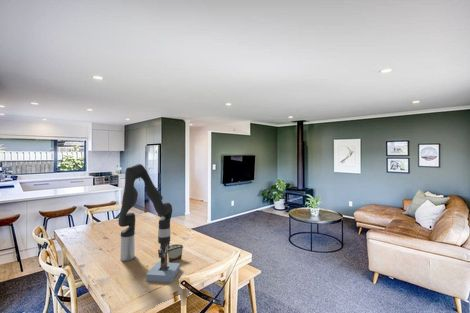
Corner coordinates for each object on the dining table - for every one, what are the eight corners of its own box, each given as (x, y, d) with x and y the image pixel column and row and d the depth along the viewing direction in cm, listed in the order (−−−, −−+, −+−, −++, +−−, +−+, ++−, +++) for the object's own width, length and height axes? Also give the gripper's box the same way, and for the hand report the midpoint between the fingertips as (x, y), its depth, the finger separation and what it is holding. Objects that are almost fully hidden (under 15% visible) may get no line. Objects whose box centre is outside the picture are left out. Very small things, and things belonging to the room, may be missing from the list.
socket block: (156, 267, 157) (157, 261, 157) (180, 269, 156) (180, 263, 156) (146, 280, 141) (146, 274, 141) (171, 282, 140) (171, 275, 140)
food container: (179, 255, 176) (179, 242, 175) (183, 258, 171) (183, 245, 171) (163, 260, 167) (163, 246, 167) (167, 263, 163) (167, 249, 163)
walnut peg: (162, 266, 150) (162, 247, 150) (168, 266, 150) (168, 248, 150) (159, 269, 146) (159, 250, 146) (165, 269, 146) (166, 250, 146)
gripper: (162, 230, 155) (162, 256, 155) (153, 238, 141) (153, 266, 141) (173, 231, 155) (173, 256, 155) (165, 239, 140) (165, 267, 141)
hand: (163, 261), depth 148 cm, fingers closed on walnut peg, 4 cm apart
